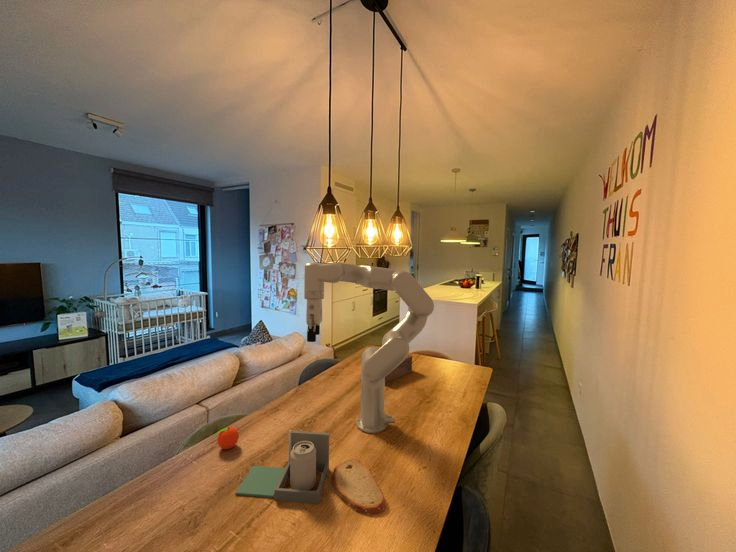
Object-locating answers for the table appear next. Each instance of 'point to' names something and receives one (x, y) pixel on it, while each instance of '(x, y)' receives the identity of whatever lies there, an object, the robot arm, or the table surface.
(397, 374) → the tissue box cover
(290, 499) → the grey open box
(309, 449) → the can
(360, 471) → the slice of bread
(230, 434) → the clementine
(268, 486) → the mat
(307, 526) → the table surface
